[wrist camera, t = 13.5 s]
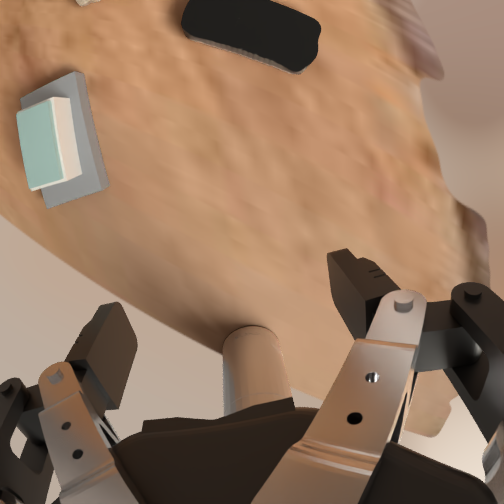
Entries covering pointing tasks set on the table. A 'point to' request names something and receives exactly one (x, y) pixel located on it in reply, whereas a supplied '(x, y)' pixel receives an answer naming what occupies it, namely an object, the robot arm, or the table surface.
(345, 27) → the table surface
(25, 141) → the block
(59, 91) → the stand
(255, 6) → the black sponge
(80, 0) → the curved stone fragment
